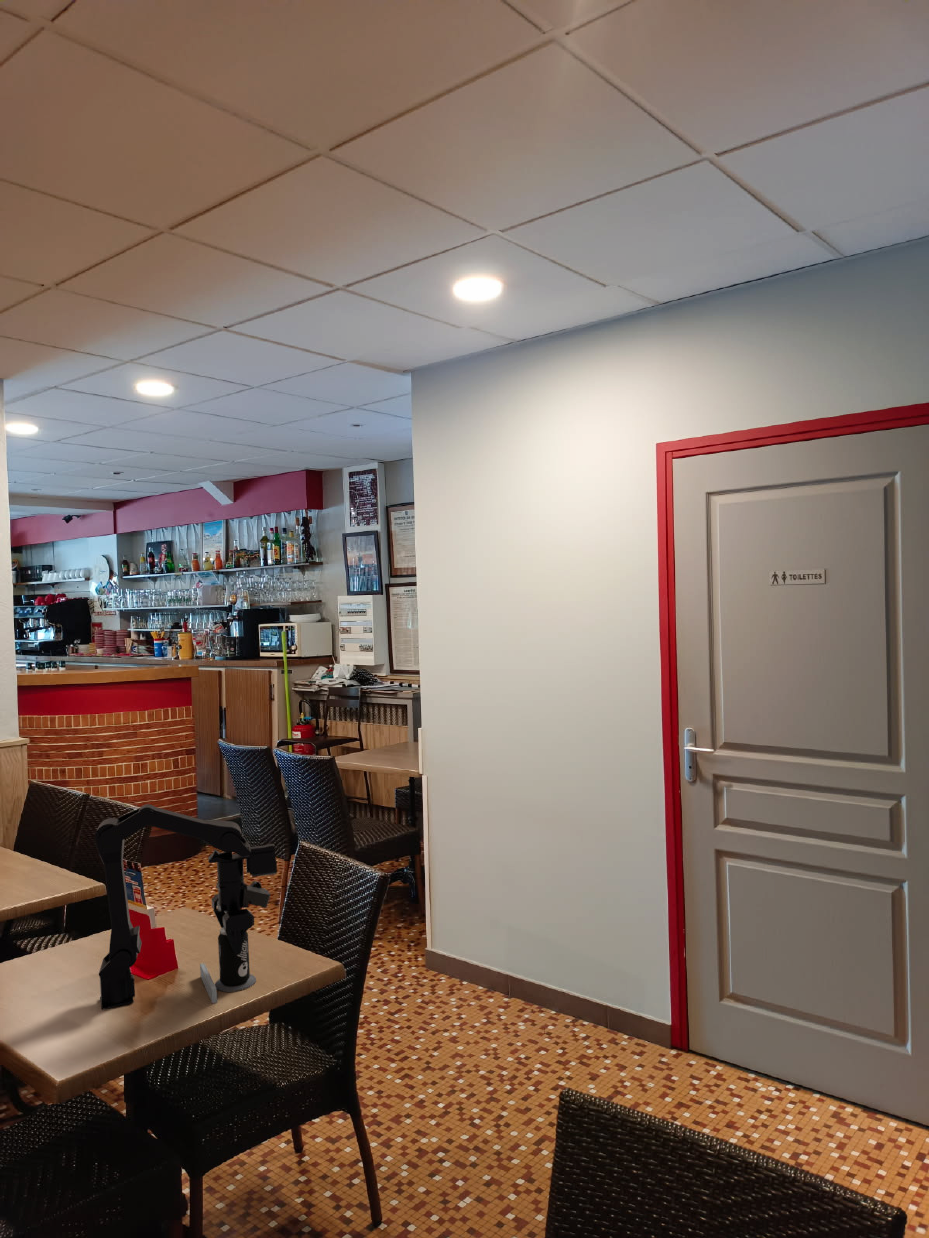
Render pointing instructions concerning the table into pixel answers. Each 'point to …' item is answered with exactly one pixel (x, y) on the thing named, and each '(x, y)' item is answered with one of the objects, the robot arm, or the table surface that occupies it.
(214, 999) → the low wall
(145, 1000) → the table surface
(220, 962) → the beverage can
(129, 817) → the robot arm
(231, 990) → the coaster mat
